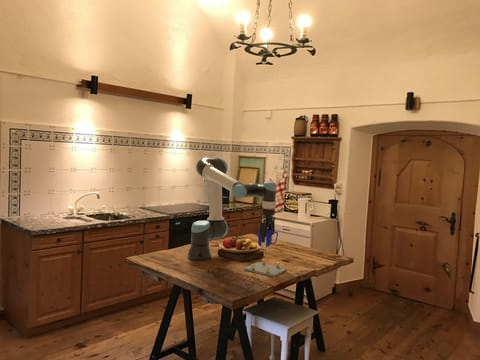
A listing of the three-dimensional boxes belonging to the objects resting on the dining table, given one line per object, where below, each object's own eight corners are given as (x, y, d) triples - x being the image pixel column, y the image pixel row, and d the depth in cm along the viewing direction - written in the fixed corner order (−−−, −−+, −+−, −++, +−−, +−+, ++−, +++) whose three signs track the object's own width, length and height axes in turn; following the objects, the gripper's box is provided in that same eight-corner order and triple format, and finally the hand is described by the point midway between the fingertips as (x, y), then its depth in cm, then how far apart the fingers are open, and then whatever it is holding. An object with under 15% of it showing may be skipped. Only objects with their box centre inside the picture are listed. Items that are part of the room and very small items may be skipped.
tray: (244, 270, 240) (244, 263, 239) (257, 263, 253) (257, 257, 253) (274, 277, 229) (274, 270, 229) (286, 270, 243) (286, 263, 242)
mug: (276, 249, 235) (277, 232, 234) (255, 246, 238) (256, 230, 237) (278, 245, 243) (279, 229, 242) (258, 243, 246) (259, 227, 245)
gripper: (266, 210, 228) (264, 250, 230) (281, 207, 244) (279, 244, 246) (254, 209, 232) (252, 248, 234) (270, 205, 248) (268, 242, 250)
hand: (266, 246), depth 240 cm, fingers closed on mug, 7 cm apart
